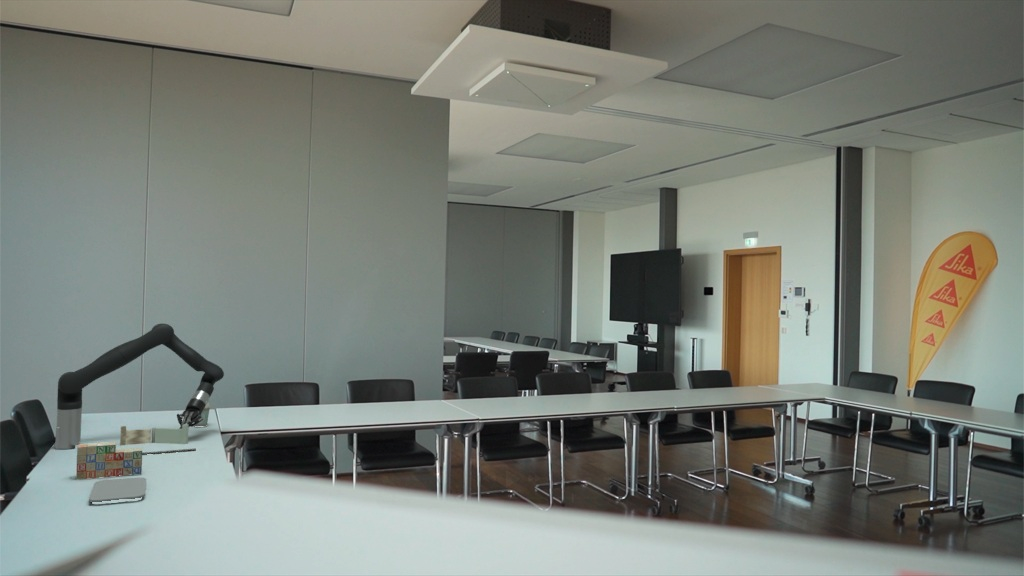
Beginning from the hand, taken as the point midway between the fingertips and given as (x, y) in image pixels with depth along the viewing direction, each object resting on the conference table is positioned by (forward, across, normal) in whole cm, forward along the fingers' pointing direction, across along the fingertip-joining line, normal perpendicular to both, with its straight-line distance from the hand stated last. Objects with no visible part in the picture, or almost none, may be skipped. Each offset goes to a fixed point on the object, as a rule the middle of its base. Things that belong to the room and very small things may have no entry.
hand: (180, 433), depth 312 cm
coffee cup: (-26, -18, +35) cm, 48 cm away
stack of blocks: (+41, +7, -34) cm, 54 cm away
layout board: (+9, -7, -1) cm, 12 cm away
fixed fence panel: (+9, -17, -2) cm, 19 cm away
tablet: (+56, +27, -48) cm, 78 cm away
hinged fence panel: (+5, -4, +2) cm, 6 cm away
